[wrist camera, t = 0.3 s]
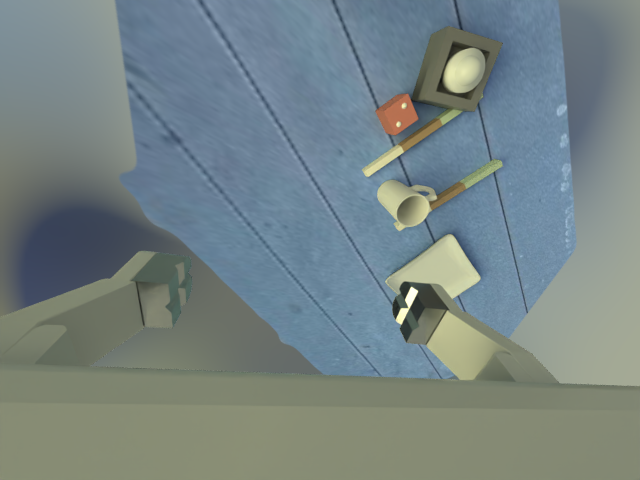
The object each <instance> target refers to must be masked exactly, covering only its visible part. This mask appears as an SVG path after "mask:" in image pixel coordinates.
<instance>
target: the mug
mask: <svg viewBox="0 0 640 480" xmlns="http://www.w3.org/2000/svg"><path fill="white" fill-rule="evenodd" d="M418 191H426V192H428V193H429V195H427V196H423V195H421V194H420V193H418ZM377 196H378V200H379V201H380V203H381V204H382V205H383V206H384V207H385V208H386V209H387V210H388V212H389V213H390V214H391V215H392V216H393V217H394V218H395V219H396V220H397V221H398V223H399V224H401V225H402V226H405V227H412V226H416V225H418V224H420V223H421V222H422V221H423V220H424V219H425V218H426V217H427V215H428V213H429V209H430V204H429V201H434V200H436V199H437V196H436V193H435V191H434V189H432V188H430V187H427V186H421V185H414V186H412V187H407V186H406V185H404V184H402V183H401V182H399V181H397V180H388V181H386V182H384V183H383V184H382V185H381V186H380V187H379V189H378V193H377Z"/></svg>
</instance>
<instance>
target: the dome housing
mask: <svg viewBox="0 0 640 480" xmlns="http://www.w3.org/2000/svg"><path fill="white" fill-rule="evenodd" d="M502 44H503V43H502V42H498V41H495V40H492V39H489V38H486V37H482V36H479V35H476V34H473V33H470V32H466V31H463V30H460V29H457V28H454V27H450V26H448V27H446V28H444V29H442V30H440V31H438V32H436V33H434V34H432V35H431V37H430V40H429V44H428V47H427V50H426V53H425V57H424V60H423V63H422V66H421V70H420V73H419V76H418V79H417V83H416V86H415V89H414V92H413V96H412V99H411V100H412V101H416V102H420V103H425V104H429V105H433V106H437V107H441V108H446V109H455V110H459V111H471V112H475V109H476V107H477V104H478V102H479V100H480V97H481V95H482V92H483V90H484V88H485V85H486V83H487V80H488V78H489V75H490V73H491V71H492V68H493V66H494V63H495V61H496V59H497V56H498V54H499V51H500V49H501V46H502ZM468 48H476V49H478V50H480V51H481V52H482V53H483V55H484V58H485V71H484V74H483V77H482V79H481V81H480V82H479V83H478V85H477V86H476V87H475V88H473V89H472V90H470V91H468V92H465V93H450V92H448V91H447V90H446V89H445V88H444V86H443V84H442V72H443V69H444V66H445V63H446V62H447V60H448V59H449V58H450V57H451V56H452V55H453V54H455V53H456V52H459V51H462V50H465V49H468Z"/></svg>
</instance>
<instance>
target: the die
mask: <svg viewBox="0 0 640 480" xmlns="http://www.w3.org/2000/svg"><path fill="white" fill-rule="evenodd" d="M376 113H377V115H378V117H379V119H380V121H381V123H382V125H383V128H384V130H385V132H386V133H388V134H392V135H397V134H398V133H400V132H401V131H402V130H404V129H405V128H407V127H408V126H409V125H411V124H412V123H414V122H415V121H416V120H418V116H417V114H416V112H415V109H414V107H413V104H412V102H411V100H410V97H409V95H408V94H400V95H396V96H395V97H393V98H392V99H391V100H389V101H388V102H387V103H385V104H384V105H383V106H381V107H380V108H379V109H377V110H376Z"/></svg>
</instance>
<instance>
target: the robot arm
mask: <svg viewBox="0 0 640 480" xmlns="http://www.w3.org/2000/svg"><path fill="white" fill-rule="evenodd" d="M190 269H191V259H190V257H188V256H181V255H173V254H166V253H156V252H149V251H140V252H138V253H137V254H136V255H135V256H134V257H133V258H132V259H131V260H130V261H129V262H127V263H126V264H125V265H124V266H123V267H122V268H121V269H120V270H119V271H118V272H117V273H116V274H115V275H114V276H113V277H112V278H111V279H103V280H100V281H97V282H95V283H92V284H89V285H86V286H84V287H81V288H78V289H75V290H73V291H70V292H67V293H65V294H62V295H59V296H57V297H54V298H51V299H48V300H46V301H43V302H40V303H37V304H35V305H32V306H30V307H27V308H24V309H21V310H19V311H16V312H13V313H11V314H8V315H5V316H2V317H0V480H640V386H617V385H589V384H588V385H587V384H561V383H559V382H558V381H557V380H556V379H555V378H554V377H553V375H552V374H551V373H550V372H548V370H547V369H546V368H545V367H544V366H543V365H542V364H541V363H540V362H539V361H538V360H537V359H536V357H534V355H533V354H532V353H530V352H528V351H527V350H525V349H524V348H522V347H521V346H519V345H517V344H516V343H514V342H512V341H511V340H510V339H508V338H506V337H505V336H503V335H502V334H500V333H498V332H497V331H495V330H494V329H492V328H490V327H489V326H487V325H486V324H484V323H483V322H481V321H479V320H478V319H476V318H475V317H473V316H471V315H470V314H468V313H467V312H462V310H461V309H460V308H459V307H458V305H457V304H456V303H455V302H454V300H453V299H452V298H451V297H450V296H449V294H448V293H447V292H446V291H445V289H444V288H443V287H442V286H441V285H439V284H432V283H418V282H408V281H404V282H403V283H402V284H401V286H400V288H399V290H400V294H399V295H398V296H396V297H395V299H394V302H393V308H392V311H393V316H394V318H395V320H396V321H397V322H398V323H400V324H401V327H400V331H401V333H402V335H403V337H404V339H405V341H406V343H412V344H423V345H426V346H427V347H428V348H429V349H430V350H431V351H432V352H433V353H434V354H435V355H436V356H437V357H438V358H439V359H440V360H441V361H442V362H443V363H444V364H445V365H446V366H447V367H448V368H449V369H450V370H451V371H452V372H453V373H454V374H455V375H456V376H457V377H458V378H459V379H460V380H452V379H451V380H450V379H424V378H398V377H371V376H344V375H316V374H287V373H260V372H234V371H206V370H179V369H150V368H124V367H97V366H96V367H94V366H91V365H92V364H94V363H95V362H96V361H98V360H99V359H101V358H102V357H104V356H105V355H106V354H108V353H109V352H111V351H112V350H113V349H115V348H116V347H118V346H119V345H121V344H122V343H123V342H125V341H126V340H128V339H129V338H130V337H132V336H133V335H135V334H136V333H138V332H139V331H140V330H142V329H143V327H162V328H173V327H174V324H175V323H176V321H177V319H178V317H179V315H180V313H181V306H182V305H184V304H185V303H186V302H187V300H188V298H189V296H190V292H191V288H192V277H191V275H190V274H189V273H188V272H189V270H190Z"/></svg>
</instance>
